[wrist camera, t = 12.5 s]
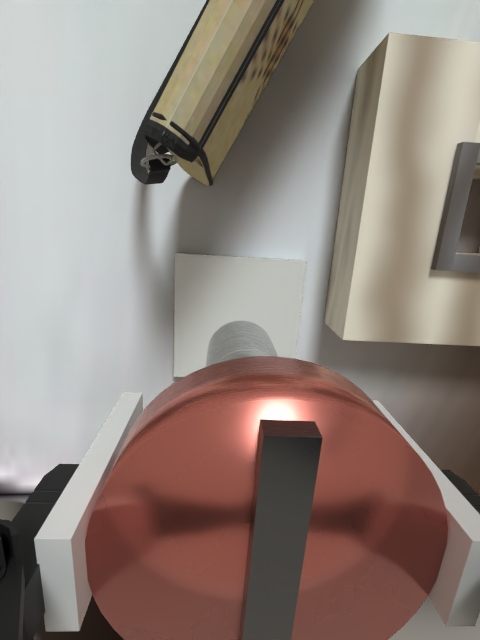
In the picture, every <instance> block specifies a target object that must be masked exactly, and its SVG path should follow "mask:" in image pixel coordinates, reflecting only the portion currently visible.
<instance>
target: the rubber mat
mask: <svg viewBox="0 0 480 640" xmlns="http://www.w3.org/2000/svg"><path fill="white" fill-rule="evenodd" d="M306 263H307V261H304V260H289V259H272V258H255V257H238V256H221V255H204V254H187V253H175V290H174V377H185V376H187V375H189V374H191V373H192V372H195V371H197V370H200V369H202V368H205V366H206V358H207V350H208V345H209V341H210V339H211V337H212V336H213V334H214V333H215V332H216V331H217V330H218V329H219V328H220V327H222V326H223V325H225V324H227V323H230V322H233V321H249V322H252V323H255V324H257V325H259V326H260V327H262V328H263V329H264V330H265V331H266V332H267V334H268V335H269V337H270V339H271V341H272V343H273V346H274V348H275V350H276V353H277V355H278V357H286V358H294V359H296V352H297V343H298V334H299V325H300V316H301V308H302V299H303V290H304V281H305V272H306Z"/></svg>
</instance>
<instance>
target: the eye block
mask: <svg viewBox="0 0 480 640" xmlns="http://www.w3.org/2000/svg"><path fill="white" fill-rule="evenodd" d="M473 179H480V42H476V41H466V40H457V39H447V38H437V37H427V36H418V35H408V34H398V33H388V35H387V36H386V37H385V38H384V39H383V40H382V42H381V43H380V44H379V45H378V46H377V48H376V49H375V50H374V51H373V52H372V53H371V55H370V56H369V57H368V58H367V59H366V60H365V62H364V63H363V64H362V65H361V66H360V68H359V69H358V72H357V79H356V87H355V94H354V102H353V109H352V117H351V124H350V132H349V139H348V147H347V154H346V162H345V169H344V177H343V184H342V192H341V199H340V207H339V214H338V222H337V229H336V237H335V244H334V252H333V259H332V267H331V274H330V282H329V289H328V297H327V304H326V312H325V319H324V323H325V324H326V325H327V326H328V327H329V328H331V329H332V330H333V331H334V332H335V333H336V334H337V335H338V336H339V337H340V338H341V339H342V340H352V341H375V342H398V343H421V344H444V345H466V346H480V247H479V251H478V253H465V252H456V250H457V245H458V241H459V237H460V232H461V228H462V224H463V219H464V215H465V211H466V206H467V202H468V197H469V193H470V189H471V184H472V180H473Z"/></svg>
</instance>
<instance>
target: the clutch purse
mask: <svg viewBox="0 0 480 640" xmlns="http://www.w3.org/2000/svg"><path fill="white" fill-rule="evenodd" d="M313 2H314V0H207V1H206V3H205V5H204V7H203V9H202V11H201V12H200V14H199V16H198V18H197V20H196V22H195V24H194V25H193V27H192V29H191V31H190V33H189V35H188V37H187V38H186V40H185V42H184V44H183V46H182V48H181V50H180V52H179V53H178V55H177V57H176V59H175V61H174V63H173V65H172V67H171V68H170V70H169V72H168V74H167V76H166V78H165V79H164V81H163V83H162V85H161V87H160V89H159V90H158V92H157V94H156V96H155V98H154V100H153V101H152V103H151V105H150V107H149V109H148V111H147V113H146V115H145V117H144V119H143V121H142V123H141V126H140V128H139V130H138V133H137V135H136V138H135V141H134V144H133V147H132V153H131V171H132V174H133V175H134V176H135V178H137V179H138V180H139V181H140V182H142V183H143V184H157V183H163V182H164V180H165V179H166V177H167V175H168V173H169V170H170V166H172V165H174V164H176V163H178V164H179V165H180V167H181V168H182V169H183V170H184V171H186V172H187V173H188V174H189V175H190V176H192V177H193V178H194V179H196V180H197V181H199V182H201V183H202V184H204V185H206V186H211V185H212V184H213V178H214V176H215V174H216V172H217V171H218V169H219V167H220V165H221V164H222V162H223V160H224V158H225V157H226V155H227V153H228V151H229V150H230V148H231V146H232V144H233V143H234V141H235V139H236V137H237V136H238V134H239V132H240V130H241V128H242V127H243V125H244V123H245V121H246V120H247V118H248V116H249V114H250V113H251V111H252V109H253V107H254V106H255V104H256V102H257V100H258V99H259V97H260V95H261V93H262V92H263V90H264V88H265V86H266V85H267V83H268V81H269V79H270V78H271V76H272V74H273V72H274V71H275V69H276V67H277V65H278V63H279V62H280V60H281V58H282V56H283V55H284V53H285V51H286V49H287V48H288V46H289V44H290V42H291V41H292V39H293V37H294V35H295V34H296V32H297V30H298V28H299V27H300V25H301V23H302V21H303V20H304V18H305V16H306V14H307V13H308V11H309V9H310V7H311V6H312V4H313ZM148 143H149V144H150V146H151V147H152V148H153V150H152V151H153V153H154V155H150V156H147V157H146V149H147V145H148ZM155 151H156V152H157V153H158V154H157V153H156V152H155ZM167 152H170V153H171V154H172V155H168V154H165V153H167ZM164 154H165V155H164ZM170 159H171V160H170ZM174 160H175V161H174ZM146 161H149V165H146ZM146 168H149V170H150V173H149V174H148V172H147V170H146Z"/></svg>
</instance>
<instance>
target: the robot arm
mask: <svg viewBox="0 0 480 640" xmlns="http://www.w3.org/2000/svg"><path fill="white" fill-rule="evenodd" d="M372 401H373V402H374V403H375V405H376V406H377V407H378V408H379V409H380V410H381V412H382V413H383V414H384V415H385V416H386V417H387V419H388V420H389V421H390V422H391V423H392V424H393V425H394V427H395V428H396V429H397V430H398V431H399V432H400V434H401V435H402V436H403V437H404V438H405V439H406V441H407V442H408V443H409V444H410V445H411V446H412V448H413V449H414V450H415V451H416V452H417V453H418V454H419V456H420V457H421V458H422V460H423V461H424V462H425V464H426V465H427V467H428V468H429V469H430V471H431V472H432V474H433V476H434V478H435V480H436V482H437V484H438V486H439V488H440V490H441V493H442V497H443V500H444V504H445V507H446V514H447V523H448V536H447V546H446V550H445V553H444V557H443V560H442V564H441V567H440V571H439V574H438V578H437V581H436V582H435V584H434V586H433V588H432V590H431V591H430V593H429V596H430V598H431V600H432V602H433V604H434V605H435V607H436V609H437V611H438V612H439V614H440V616H441V618H442V619H443V621H444V623H445V625H446V626H475V624H476V621H477V618H478V615H479V612H480V497H478V494H477V493H476V492H475V491H474V490H473V489H472V488H471V487H470V486H469V485H468V484H467V482H466V481H464V480H463V479H461V478H460V477H458V476H457V475H455V474H454V473H452V472H451V471H450V470H440V469H439V468H438V467H437V466H436V465H435V464H434V463H433V462H432V460H431V459H430V458H429V457H428V456H427V455H426V454H425V453H424V452H423V450H422V449H421V448H420V447H419V446H418V445H417V444H416V443H415V441H414V440H413V439H412V438H411V437H410V436H409V435H408V434H407V433H406V431H405V430H404V429H403V428H402V427H401V426H400V425H399V424H398V423H397V421H396V420H395V419H394V418H393V417H392V416H391V415H390V414H389V412H388V411H387V410H386V409H385V408H384V407H383V406H382V405H381V404H380V402H379V401H378V400H372ZM142 412H143V402H142V393H130V392H123V393H122V395H121V397H120V398H119V400H118V402H117V403H116V405H115V407H114V408H113V410H112V412H111V413H110V415H109V417H108V418H107V420H106V421H105V423H104V425H103V426H102V428H101V430H100V431H99V433H98V435H97V436H96V438H95V440H94V441H93V443H92V445H91V446H90V448H89V449H88V451H87V453H86V454H85V456H84V458H83V459H82V461H81V463H80V464H59V465H58V466H56V467H55V468H54V469H53V470H51V471H50V472H49V473H47V474H46V475H45V476H44V477H43V478H42V480H41V481H40V483H39V484H38V485H37V487H36V488H35V490H34V492H32V494H31V495H30V496H29V498H28V499H27V501H26V504H24V505H23V506H22V508H21V509H20V511H19V512H18V513H17V515H16V516H15V517H14V519H13V520H12V522H11V521H9V520H1V519H0V640H34V639H33V637H34V635H35V633H36V630H37V628H38V626H39V624H40V622H41V620H42V617H43V615H44V620H45V628H46V631H79V630H80V627H81V624H82V622H83V618H84V616H85V613H86V610H87V608H88V605H89V602H90V599H91V596H92V592H91V589H90V586H89V583H88V578H87V565H86V553H85V539H86V533H87V528H88V523H89V520H90V517H91V515H92V512H93V509H94V507H95V504H96V502H97V499H98V497H99V495H100V493H101V491H102V489H103V486H104V484H105V482H106V480H107V478H108V476H109V473H110V471H111V469H112V467H113V465H114V463H115V460H116V458H117V456H118V454H119V452H120V450H121V447H122V445H123V443H124V441H125V439H126V436H127V435H128V433H129V431H130V429H131V428H132V426H133V424H134V422H135V421H136V419H137V418H138V417H139V415H140V414H141V413H142Z"/></svg>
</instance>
